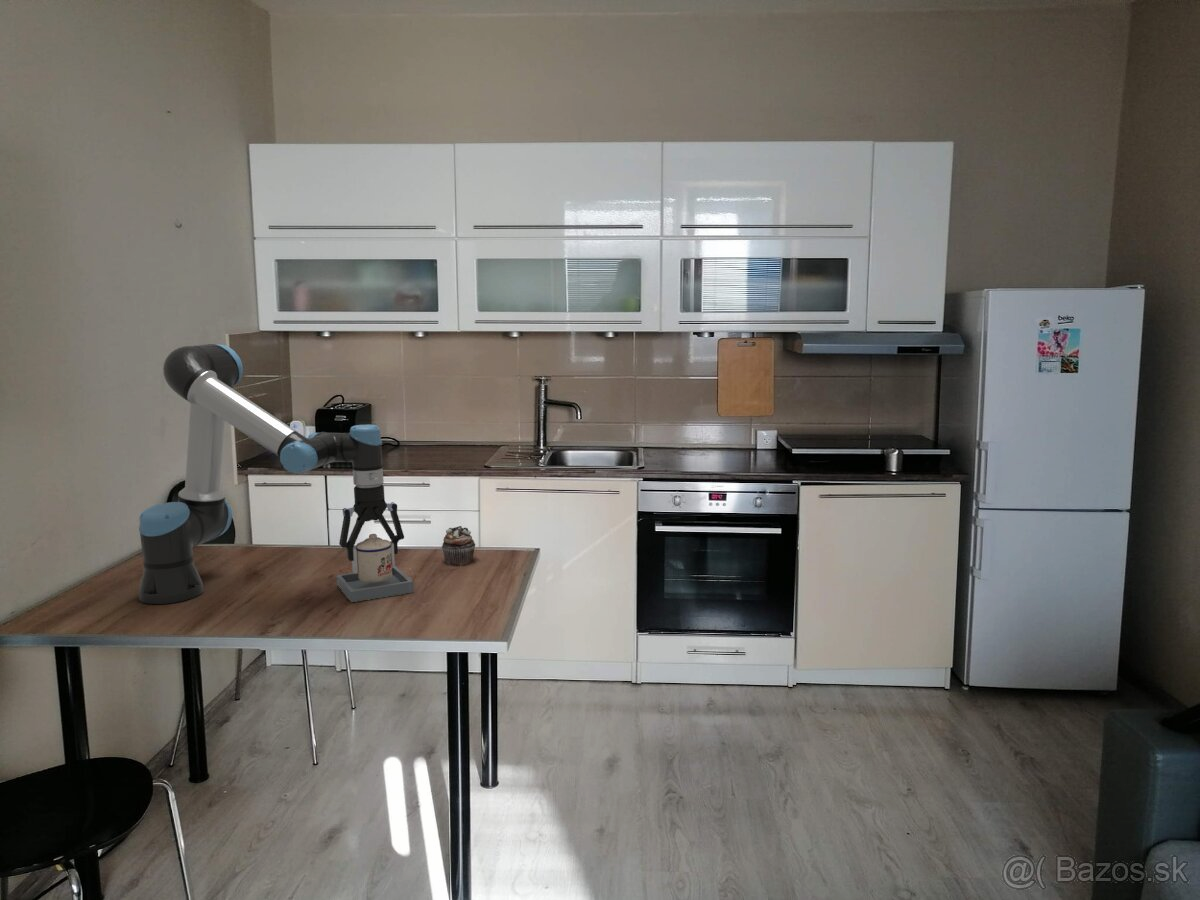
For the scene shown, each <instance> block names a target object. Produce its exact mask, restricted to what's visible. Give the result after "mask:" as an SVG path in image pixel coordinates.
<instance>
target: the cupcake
mask: <svg viewBox="0 0 1200 900" xmlns="http://www.w3.org/2000/svg"><path fill="white" fill-rule="evenodd" d="M445 533H446V534H445V536H444V537H443V543H442V544H441V549H442V553H443V557H444V561H445V563H446V565H449V564H450V566H465V565H464V564H466V565H469V564H471V563H472V561H473V562H474V556H475V555H474V553H475V548H476V543H475V541H474V539H473V537H472V535H471V533H472V531H471V530H469V529H468V527H462V525H460V526H456V527H449V528H448V529H445Z"/></svg>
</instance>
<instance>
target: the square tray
mask: <svg viewBox="0 0 1200 900" xmlns="http://www.w3.org/2000/svg"><path fill="white" fill-rule="evenodd" d="M337 586H338V587H339V588H340V589H341V590H342V591H341V590H340V589H339V588H338V587H337ZM336 587H337V588H338V589H339V590H340V591H341V593H342V592H343V593H344V594H345V595H346V596H345V595H344V594H343V593H342V594H343V595H344V596H345V597H346V599H347V600H348V599H349V600H350V601H351V602H356V603H358V602H357V601H361V600H368V599H373V600H376V599H375V598H379V599H384V598H383V597H385V598H390V597H389V596H391V597H396V595H397V596H401V595H402V594H403V595H407V594H406V593H409V594H414V593H415V591H414V590H415V588H414V581H413V580H412V579H411V578H410V577H409V576H408V575H406V574H405V572H403V571H402V570H401V569H399V567H397V566H396V565H395V568H392V577H391V578H390V579H388V580H385V581H381V582H363V581H360V580H359V578H358V573H357V574H355V573H354V572H350V573H341V574H337V575H336ZM413 592H414V593H413ZM403 595H402V596H403ZM349 600H348V601H349ZM350 601H349V602H350ZM368 601H369V600H368ZM351 602H350V603H351Z"/></svg>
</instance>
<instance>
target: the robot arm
mask: <svg viewBox="0 0 1200 900" xmlns="http://www.w3.org/2000/svg"><path fill="white" fill-rule="evenodd" d="M243 367H244V366H243V362H242V360H241V358H240V356H239V355H238V354H237V352H236V351H235V350H234V349H232V348H231V347H229V346H227V345H226V344H219V343H218V344H216V343H207V344H199V345H187V346H185V345H184V346H181V347H178V348H176V349H174V350H173V351H171V352H170V353H169V354H168V355H167V357H166V358H165V361H164V363H163V368H162V370H163V376H164V380H165V381H166V383H167V385H168V386H169V387H170V389H172V390H173V392H175V393H176V394H177V395H178V396H180V397H181V398H182V399H183V400H186V401H187V402H188V403H189V405H190V407H189V419H188V420H189V421H188V433H187V435H188V437H187V449H186V450H187V451H186V463H185V464H186V465H185V466H186V467H185V468H186V469H185V480H184V481H185V482H184V487H183V488H182V489H181V490H180V491H179V492H178V494H177V495H178V496H177V497H178V498H177V501H171V502H163V503H161V504H155V505H152V506H150V507H148V508H145V509H144V510H143V511H142V512H141V513H140V516H139V527H138V530H139V535H140V543H141V544H140V545H141V553H142V561H143V573H142V577H141V581H140V585H139V589H138V599H139V601H140V602H141V603H144V604H149V605H164V604H165V605H166V604H175V603H180V602H184V601H187V600H191V599H193V598H196V597H198V596H200V595H202V594H203V592H204V583H203V580H202V578H201V576H200V574H199V571H198V569H197V568H196V565H195V563H194V552H193V548H194V547H197V546H199V545H202V544H204V543H206V542H211V541H213V540H215V539H217V538H219V537H220V536H222V535H224V533H226V532H227V531H228V529H229V528H230V526H231V523H232V521H233V520H232V518H233V514H232V513H233V512H232V508H231V506H230V505H228V504H229V502H228V501H227V500H226V494H225V493H224V492H223V491H222V489H221V487H220V486H221V474H222V473H221V472H222V458H223V448H224V447H223V445H224V434H225V432H224V431H225V422H226V423H228V424H229V425H231V426H232V427H234V428H235V429H237V430H238V431H239V432H241V433H243V434H244V435H246V436H248V437H249V438H250V439H251V440H254V441H255V442H256V443H258V444H259V445H261V446H262V447H263V448H266V449H267V450H268V451H270V452H272V453H273V454H274V455H276V456H277V457H279V459H280V460H279V461H280V463H281V465H282V467H283V469H285V470H286V471H287V472H288V473H291V474H302V473H308V472H309V471H311V470H314V469H316V468H319V467H324V466H325V465H328V464H330V463H352V464H351V465H352V476H353V477H352V478H353V480H352V481H353V485H354V487H353V494H354V496H353V497H354V504H353V505H352V507H349V508H345V507H344V508H343V509H342V515H343V516H342V517H343V519H342V525H341V531H340V537H339V541H338V542H339V543H338V544H339V546H340V547H341V548H345V549H346V551H347V553H346V555H347V559H348V561H349V562H351V568H352V573H355V574H357V573H358V564H357V550H356V546H355V545H356V542H357V540H358V537H359V535H360V533H361V531H362V528H363V526H364V525H365V523H366V522H371V521H379V523H380V525H381V526H382V528H383V530H384V531H385V533H386V534H387V536H388V537H389V539H390V540H389V541H390V543H391V545H392V546H391V560H392V568H395V566H396V561H395V559H396V558H395V555H397V554H398V552H399V549H398V543H399V541H401V540H404V539H405V534H404V531H403V528H402V525H401V522H400V518H399V514H398V504H397V503H395V502H393V501H392V502H390V503H389V502H388V503H387V502H386V498H385V486H384V485H383V483H384V470H383V469H384V468H383V451H382V444H383V441H382V436H381V435H382V434H381V428H380V427H379V426H378V425H376V424H368V423H367V424H358V425H357V424H356V425H353V426H351V427H350V429H349V432H343V433H342V432H326V431H321V432H312V433H309V434H308V436H307V437H306V436H304V435H302V434H301V433H300V432H298V431H297V430H295V429H294V428H293V427H291V426H289V425H287V424H286V423H284V422H283V421H282V420H280V419H278V418H277V417H276V416H274V415H273V414H271V413H270V412H268V411H266V410H265V409H263V408H262V407H260V406H259V405H257V404H256V403H255V402H254V401H252V400H251V399H249V398H247V397H245V396H244V395H243V394H242V393H240V392H238V391H236V390H235V389H234V386H236V385H237V384H238V383H239V382H240V381H241V380H242V377H243V373H244V368H243ZM386 509H387V510H388V512H389V513H390V514H389V515H390V516H391V520H392V522H393V527H394V530H395V533H394V532H393V529H392V528H391V526H390V525H389V524H388V522H387V520H386V517H385V516H384V512H385V511H386ZM354 513H355V514H356V515H357V518H356V519H355V520H356V521H355V523H354V526H353V529H352V531H351V533H350V535H349V531H350V526H351V525H350V524H351V517H353V514H354ZM348 536H349V538H348Z"/></svg>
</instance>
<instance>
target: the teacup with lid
mask: <svg viewBox="0 0 1200 900" xmlns="http://www.w3.org/2000/svg"><path fill="white" fill-rule="evenodd" d="M390 541H391V540H387V539H383V538H381V537H379V536H378V535H377V534H376V533H371V534H369V535H368V538H365V539H364V540H362V541H359V542H358V543H357V544H355V545H356V546H355V548H356V550H357V566H358V578H359V580H360V581H363V582H381V581H385V580H388V579H390V578H391V577H392V560H391V546H392V545H391V543H390Z"/></svg>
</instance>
